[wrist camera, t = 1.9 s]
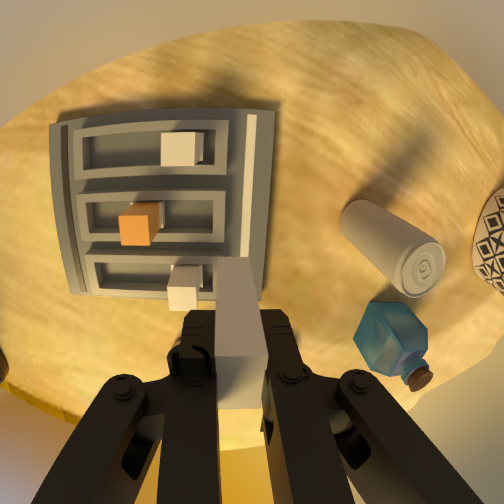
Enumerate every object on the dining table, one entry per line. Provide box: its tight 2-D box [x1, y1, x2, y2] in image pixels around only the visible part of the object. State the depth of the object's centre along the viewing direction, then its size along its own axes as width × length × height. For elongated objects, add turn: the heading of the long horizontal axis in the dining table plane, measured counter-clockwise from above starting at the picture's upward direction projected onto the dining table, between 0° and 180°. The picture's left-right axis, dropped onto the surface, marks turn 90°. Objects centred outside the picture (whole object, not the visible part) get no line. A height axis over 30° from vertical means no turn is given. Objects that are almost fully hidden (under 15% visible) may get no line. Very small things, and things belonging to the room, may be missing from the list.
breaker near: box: [161, 132, 204, 166], centre depth 20 cm, size 3×2×5 cm
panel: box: [49, 108, 275, 301], centre depth 24 cm, size 22×19×3 cm
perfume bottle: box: [353, 302, 433, 392], centre depth 29 cm, size 6×6×12 cm
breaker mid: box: [118, 200, 165, 246], centre depth 22 cm, size 3×2×5 cm
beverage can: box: [340, 199, 446, 298], centre depth 23 cm, size 5×5×12 cm
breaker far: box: [167, 264, 203, 311], centre depth 25 cm, size 3×2×5 cm
